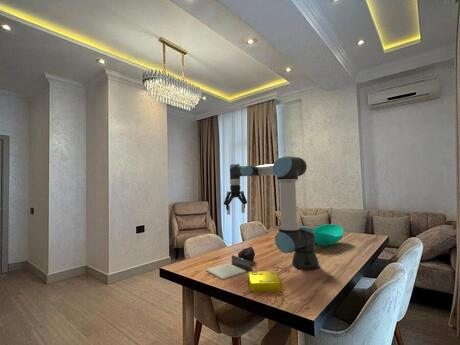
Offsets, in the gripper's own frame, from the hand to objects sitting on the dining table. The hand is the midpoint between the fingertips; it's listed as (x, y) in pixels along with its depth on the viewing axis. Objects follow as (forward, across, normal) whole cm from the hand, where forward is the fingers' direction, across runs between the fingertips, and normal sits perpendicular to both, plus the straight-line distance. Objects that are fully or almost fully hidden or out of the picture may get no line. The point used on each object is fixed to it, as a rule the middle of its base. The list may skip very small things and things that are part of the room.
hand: (236, 213), depth 171 cm
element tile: (+29, +24, +52) cm, 64 cm away
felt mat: (+28, +28, +26) cm, 47 cm away
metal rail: (+28, +17, +26) cm, 42 cm away
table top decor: (+28, -65, +29) cm, 76 cm away
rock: (+28, +7, +21) cm, 36 cm away
